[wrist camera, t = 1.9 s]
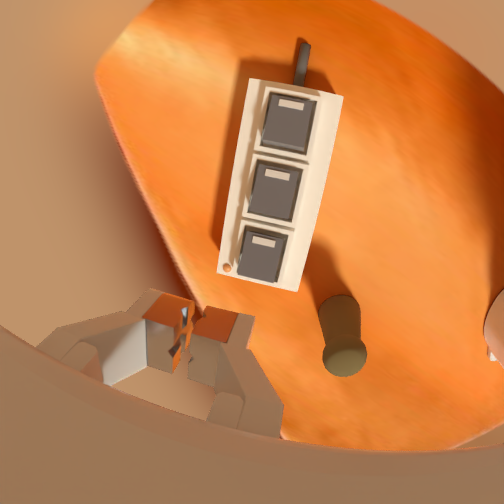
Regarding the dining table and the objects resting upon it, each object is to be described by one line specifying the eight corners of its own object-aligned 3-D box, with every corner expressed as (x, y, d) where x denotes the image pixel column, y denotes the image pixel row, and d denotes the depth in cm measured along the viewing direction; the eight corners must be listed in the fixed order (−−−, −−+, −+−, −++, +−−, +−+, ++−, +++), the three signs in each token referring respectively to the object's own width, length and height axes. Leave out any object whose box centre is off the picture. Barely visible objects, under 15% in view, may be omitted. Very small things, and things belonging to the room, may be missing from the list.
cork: (337, 338, 43) (341, 391, 32) (309, 313, 42) (307, 365, 32) (368, 313, 40) (382, 364, 30) (341, 286, 40) (350, 335, 30)
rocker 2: (298, 174, 31) (298, 172, 29) (288, 219, 32) (288, 219, 30) (260, 166, 31) (259, 163, 30) (250, 211, 32) (248, 210, 30)
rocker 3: (284, 238, 34) (283, 239, 32) (274, 280, 34) (273, 283, 33) (248, 230, 34) (246, 231, 32) (239, 272, 35) (237, 274, 33)
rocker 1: (311, 108, 28) (312, 102, 27) (303, 151, 29) (303, 147, 27) (273, 100, 29) (272, 94, 27) (263, 143, 29) (262, 138, 28)
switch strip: (347, 56, 29) (354, 42, 24) (298, 277, 40) (296, 298, 35) (264, 40, 30) (257, 25, 25) (224, 260, 41) (213, 278, 36)
